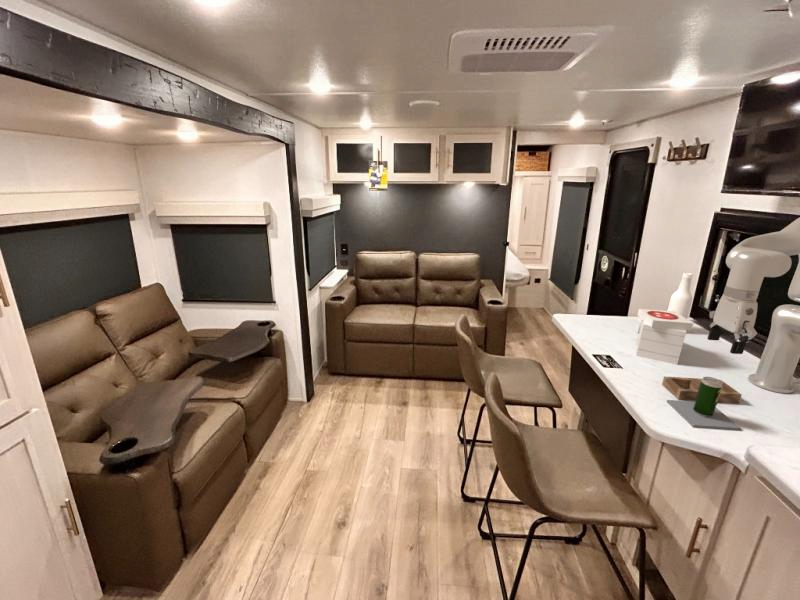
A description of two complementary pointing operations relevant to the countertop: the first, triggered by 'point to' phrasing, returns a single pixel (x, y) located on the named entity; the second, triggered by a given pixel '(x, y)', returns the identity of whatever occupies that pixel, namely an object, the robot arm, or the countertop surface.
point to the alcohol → (682, 297)
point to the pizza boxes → (661, 335)
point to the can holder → (692, 384)
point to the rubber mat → (695, 420)
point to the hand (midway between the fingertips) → (724, 346)
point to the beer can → (707, 396)
